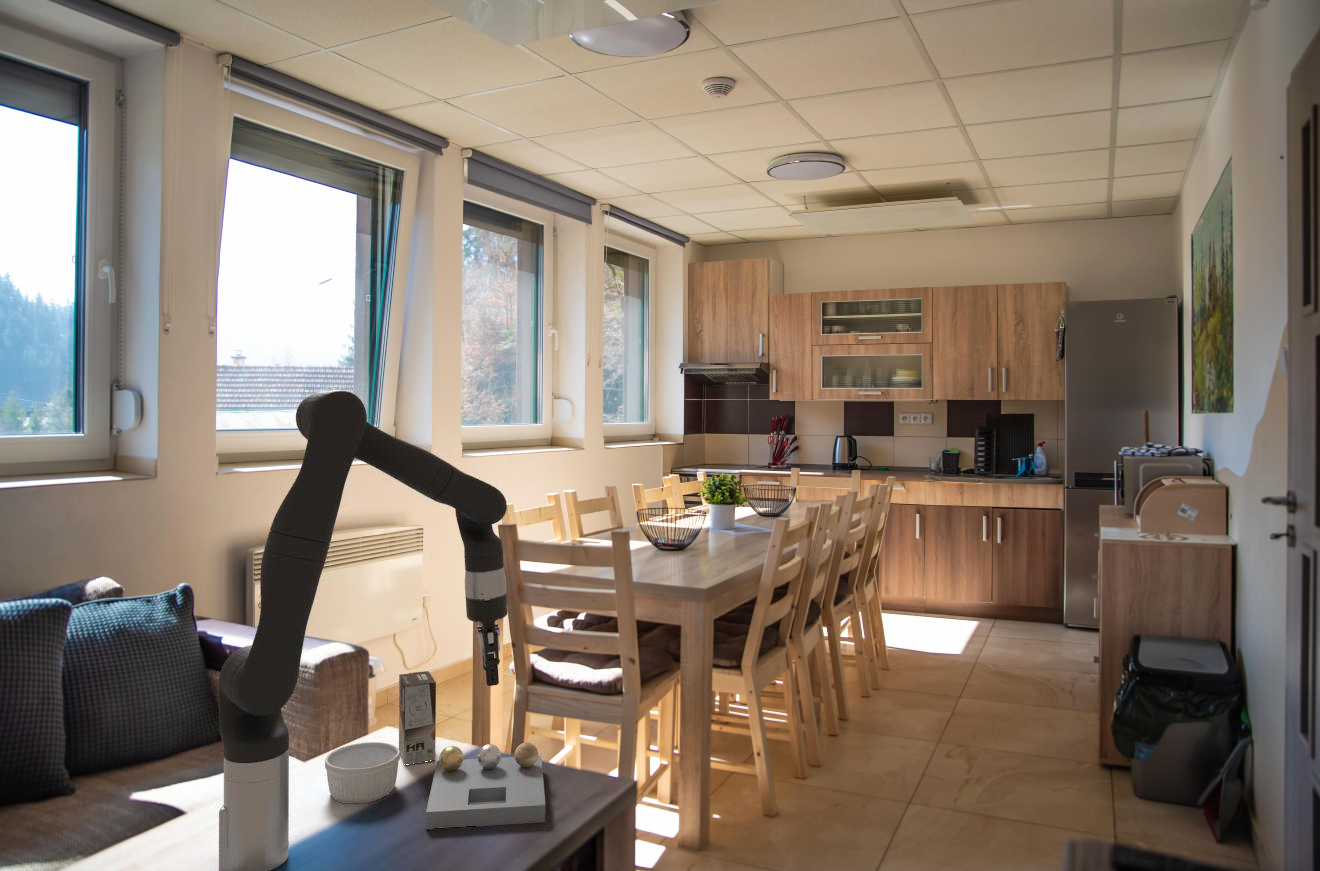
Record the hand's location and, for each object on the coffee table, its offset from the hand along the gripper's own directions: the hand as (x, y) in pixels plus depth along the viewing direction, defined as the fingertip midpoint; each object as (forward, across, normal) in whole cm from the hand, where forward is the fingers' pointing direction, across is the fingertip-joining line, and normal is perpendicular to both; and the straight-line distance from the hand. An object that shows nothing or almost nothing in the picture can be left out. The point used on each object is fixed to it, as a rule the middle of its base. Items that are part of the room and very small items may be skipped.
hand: (491, 677), depth 162 cm
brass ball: (+15, -2, -8) cm, 18 cm away
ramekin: (+20, -4, -24) cm, 32 cm away
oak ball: (+16, -1, +6) cm, 17 cm away
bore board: (+21, +4, -2) cm, 21 cm away
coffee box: (+21, -19, -15) cm, 32 cm away
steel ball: (+16, -2, -1) cm, 16 cm away
